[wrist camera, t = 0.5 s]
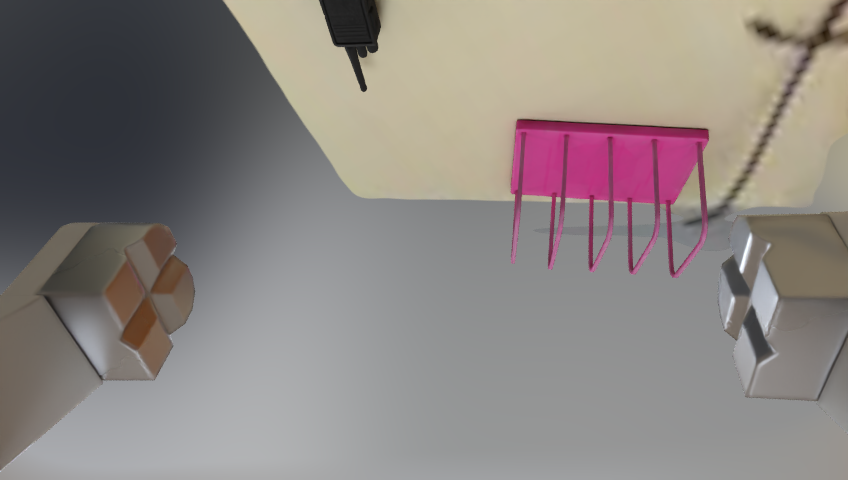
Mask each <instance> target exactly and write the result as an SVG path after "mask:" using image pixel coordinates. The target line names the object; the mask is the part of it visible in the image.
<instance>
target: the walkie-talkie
mask: <svg viewBox="0 0 848 480" xmlns="http://www.w3.org/2000/svg"><path fill="white" fill-rule="evenodd" d="M319 1H320V4H321V7H322V10H323V13H324V15H325V19H326V22H327V26H328V29H329V32H330V35H331V38H332V41H333V43H334V45H335V46H337V47H345V49H346V52H347V54H348V56H349V59H350V61H351V64H352V66H353V69H354V72H355V74H356V77H357V80H358V83H359V85H360V89H361V91H363V92H365V91H366V90H367V86H366V84H365V80H364V76H363V73H362V69H361V66H360V62H359V59H358V55H359V56H360V57H361V58H364V57H366V56H367V50H366V46H367V49H368V51H369V52H370V53H374V52H376V51H377V50H378V43H377V39H378V35H379V32H380V28H381V24H380V20H379V16H378V12H377V8H376V5H375V1H374V0H319ZM356 48H357V49H356ZM357 51H358V54H357Z"/></svg>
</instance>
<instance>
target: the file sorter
mask: <svg viewBox="0 0 848 480" xmlns="http://www.w3.org/2000/svg"><path fill="white" fill-rule="evenodd" d="M708 141H709V135H708V130H697V129H679V128H660V127H641V126H623V125H605V124H585V123H567V122H547V121H528V120H518V121H517V126H516V138H515V149H514V159H513V170H512V181H511V193H512V194H515V209H514V223H513V238H512V239H513V240H512V254H511V263H512V264H513V263H515V257H516V248H517V240H518V231H519V221H520V210H521V197H522V195H537V196H551V197H552V207H551V208H552V209H551V222H550V239H549V254H548V255H549V256H548V269H552V268H553V265H554V261H555V257H556V253H557V249H558V245H559V242H560V238H561V234H562V228H563V221H564V210H565V198H579V199H590V207H589V270H590V272H594V271H595V270H596V268H597V266H598V264H599V262H600V260H601V258H602V256H603V254H604V252H605V250H606V248H607V246H608V244H609V242H610V239H611V236H612V230H613V217H614V214H613V213H614V205H613V204H614V202H613V201H625V202H628V263H629V271H630V273H631V274H636V273H637V271H638V270H639V268H640V267H641V265H642V263H643V262H644V260H645V259H646V257H647V255H648V254H649V252H650V250H651V249H652V247H653V245H654V244H655V242H656V240H657V237H658V233H659V227H660V204H666V215H667V235H668V255H669V269H670V274H671V276H672V277H673V278H678V277H679V275H680V274H681V273H682V272H683V271H684V269H685V268H686V267H687V266H688V264H689V263H690V262H691V261H692V259H693V258H694V257H695V256H696V254H697V253H698V251H699V250H700V249H701V248H702V246H703V245H704V242H705V239H706V235H707V228H708V217H707V205H706V193H705V179H704V167H703V153H702V152H703V150H704V148H705V147H706V145H707V143H708ZM697 161H698V172H699V184H700V198H701V211H702V232H701V237H700V240H699V242H698V244H697V245H696V246H695V248H694V249H693V251H692V252H691V253H690V254H689V256H688V257H687V258H686V260H685V261H684V263H683V264H682V265H681V266H680V268H679V269H678V270H677V271H676V273H675V272H674V267H673V249H672V228H671V208H670V204H674V202H675V200H676V199H677V197H678V195H679V193H680V192H681V190H682V188H683V186H684V185H685V183H686V181H687V179H688V177H689V176H690V174H691V172H692V170H693V168H694V167H695V165H696V163H697ZM556 197H561V205H560V218H559V225H558V231H557V236H556V240H555V244H554V248H553V235H554V219H555V203H556ZM593 199H594V200H609V224H608V232H607V236H606V239H605V241H604V243H603V246H602V248H601V250H600V252H599V254H598V256H597V258H596V260H595V262H594V264H593ZM632 202H640V203H655V227H654V232H653V236H652V239H651V241H650V242H649V244H648V246H647V248H646V249H645V251H644V253H643V254H642V256H641V257H640V259H639V261H638V263H637V264H636V266H635V267H634V269H633V259H632ZM552 251H553V252H552Z"/></svg>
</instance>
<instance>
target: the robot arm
mask: <svg viewBox="0 0 848 480" xmlns="http://www.w3.org/2000/svg"><path fill="white" fill-rule="evenodd" d="M728 239H729V242H730V245H731V248H732V251H733V253H734V255H733V256H731V257H730V258H729V259H728V260H726V261H725V262H724V263H723V264H722V267H721V272H720V277H719V281H718V305H719V312H720V317H721V320H722V324H723V328H724V331H725V332H727V333H728V334H729V335H730V336H732V337H733V338H734V339H735V340H737V343H736V346H735V350H734V353H733V360H734V363H735V366H736V369H737V372H738V375H739V378H740V381H741V385H742V387H743V391H744V394H745V397H749V398H769V399H788V400H807V401H818V402H817V405H818V406H819V407H820V408H821V409H822V410H823V411H824V412H825V413H827V415H828V416H830V418H832V419H833V420H834V421H835V422H836V423H837V424H838V425H839V426H840V427H841V428H842V429H843V430H844V431H845V432H846V433H847V434H848V211H846V212H822V213H820V214H775V215H774V214H773V215H737V217H736V218H735V220H734V222H733V224H732V227H731V231H730V234H729V238H728ZM176 245H177V243H176V241H175V239H174V237H173V235H172V233H171V231H170V229H169V228H168V227H166V226H164V225H162V224H160V223H71V224H69V225H65V226H62V227H61V228H60V229H59V230H58V231H57V232H56V233H55V235H54V236H53V237H52V238H51V239H50V240H49V241H48V243H47V244H46V245H45V246H44V247H43V248H42V249H41V251H40V252H39V253H38V254H37V255H36V256H35V257H34V258H33V260H32V261H31V262H30V263H29V264H28V265H27V266H26V268H25V269H24V270H23V271H22V272H21V273H20V274H19V276H18V277H17V278H16V279H15V280H14V281H13V282H12V284H11V285H10V286H9V287H8V288H7V289H6V290H5V291H4V293H3V294H2V295H0V472H1V471H2V470H3V469H4V468H5V467H6V466H7V465H9V464H10V463H11V462H12V461H13V460H14V459H16V458H17V457H18V456H19V455H20V454H21V453H23V452H24V451H25V450H26V449H27V448H28V447H30V446H31V445H32V444H33V443H34V442H35V441H37V440H38V439H39V438H40V437H41V436H42V435H43V434H45V433H46V432H47V431H48V430H49V429H50V428H52V427H53V426H54V425H55V424H56V423H57V422H59V421H60V420H61V419H62V418H63V417H64V416H65V415H67V414H68V413H69V412H70V411H71V410H72V409H74V408H75V407H76V406H77V405H78V404H79V403H81V402H82V401H83V400H84V399H85V398H86V397H88V396H89V395H90V394H91V393H92V392H93V391H95V390H96V389H97V388H98V387H99V386H100V385H102V384H103V381H102V380H155V379H156V377H157V375H158V373H159V371H160V369H161V367H162V366H163V364H164V362H165V360H166V358H167V357H168V355H169V353H170V351H171V349H172V347H173V343H172V340H171V336H170V334H171V333H173V332H174V331H176V330H177V329H179V328H180V327H181V326H183V325H184V324H185V323H186V321H187V319H188V317H189V315H190V313H191V311H192V308H193V302H194V295H195V288H194V283H193V277H192V275H191V273H190V271H189V268H188V266H187V265H186V264H185V263H183V262H182V261H181V260H179V259H178V258H177V257H176V256H174V255H173V253H174V251H175V248H176Z"/></svg>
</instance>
